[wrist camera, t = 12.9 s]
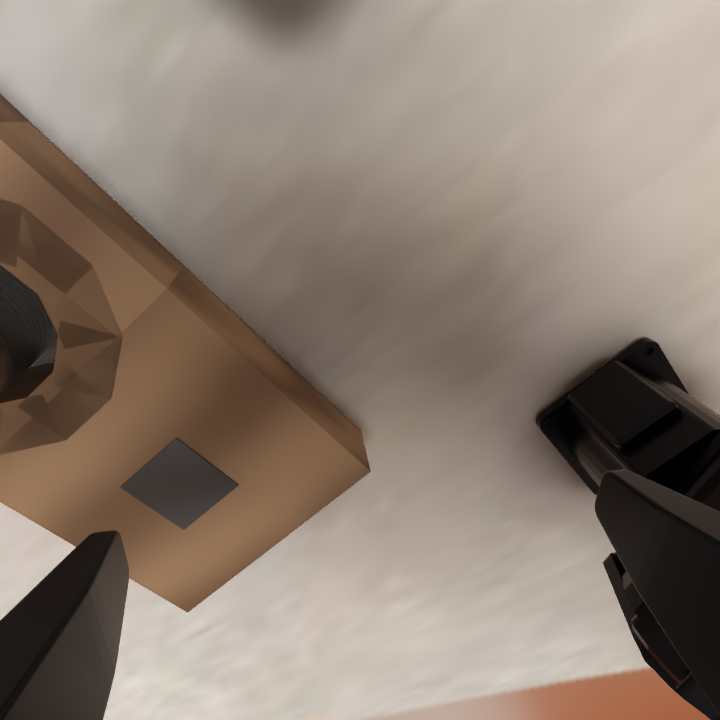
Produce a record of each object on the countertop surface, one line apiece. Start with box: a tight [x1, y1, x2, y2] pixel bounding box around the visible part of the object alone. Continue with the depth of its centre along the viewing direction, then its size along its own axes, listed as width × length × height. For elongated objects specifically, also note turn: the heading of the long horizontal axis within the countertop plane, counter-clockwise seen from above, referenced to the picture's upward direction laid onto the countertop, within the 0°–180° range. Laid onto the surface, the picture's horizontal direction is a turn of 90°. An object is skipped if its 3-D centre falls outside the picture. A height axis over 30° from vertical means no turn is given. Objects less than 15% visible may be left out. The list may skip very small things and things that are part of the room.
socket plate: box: [0, 95, 370, 612], centre depth 20 cm, size 19×11×3 cm, turn 40°
